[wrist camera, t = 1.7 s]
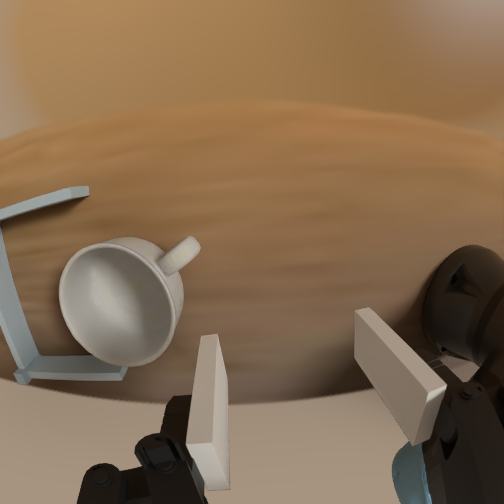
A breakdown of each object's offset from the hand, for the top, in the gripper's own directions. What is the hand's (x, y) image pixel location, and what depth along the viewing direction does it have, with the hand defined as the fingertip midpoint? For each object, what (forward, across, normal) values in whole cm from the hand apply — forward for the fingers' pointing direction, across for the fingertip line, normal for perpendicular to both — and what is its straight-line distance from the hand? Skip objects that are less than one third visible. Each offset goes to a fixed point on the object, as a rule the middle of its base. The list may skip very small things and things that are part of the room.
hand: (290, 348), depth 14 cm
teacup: (+17, +11, 0) cm, 20 cm away
